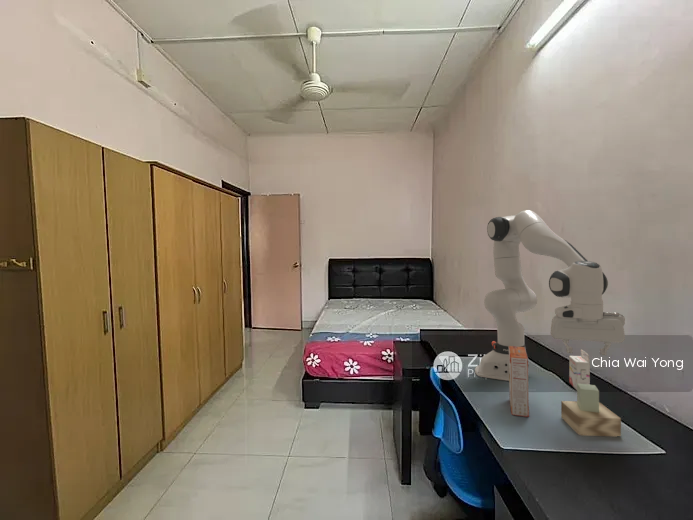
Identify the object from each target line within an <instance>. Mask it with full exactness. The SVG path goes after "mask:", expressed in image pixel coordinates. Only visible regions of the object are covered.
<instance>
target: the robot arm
mask: <svg viewBox="0 0 693 520" xmlns="http://www.w3.org/2000/svg"><path fill="white" fill-rule="evenodd" d="M486 230H487V233H486V234H487V236H488V237H489V239H490V240H491V241H493V249H492V253H493V255H492V256H493V266H494V267H493V268H494V274H495V277H496V278H497V279H498V280H500V281H501V282H502V284H503V286H504V289H502V288H501V289H495V290H493V291H492V290H491V291H489V292H487V293H486V295H485V296H484V298H483V303H484V304H483V305H484V307H485V309H486V310H487V312H488V313H490V314H491V315H492V317H493V318H494V320H495V324H496V327H497V328H496V331H497V341H495V340H493V341H492V342H491V346H492V350H491V351H489V352H487V353H486V354H485V355H483V356H482V357H481V359H480V362H479V364H478V365H477V366H476V367H475V368H474V373H475V375H476V376H478V377H481V378H487V379H494V380H499V381H508V382H509V346H516V347H525V350H526V349H527V347H526V344H525V327H524V325H523V324H522V323H521V322H518V320H517V317H516V314H517V313H524V312H527V311H530V310H532V309H534V308H536V306H537V304H538V296H537V294H536V293H535V292H534V290H533V289H531V288H530V287H529V286H528V284H527V282H526V280H525V277H524V274H523V272H522V271H523V269H522V263H521V254H520V244H522V246H523V247H524V248H525V249H527V251H528V252H530V253H531V254H535V255H538V256H539V255H540V256H546V257H551V258H554V259H558V260H560V261H562V262H563V263H564V264H565V265H566V266H567V267H566V268H562V269H559V270H555V271H554V272H553V273H552V274H551V275H550V276H549V279H548V287H549V290H550V292H551V293H552V294H553V295H554V296H555V297H558V298H570V304H568V305H564V306H559V307H556V308H555V309H554V314H555V315H554V316H553V317H552V320H551V323H550V335H551V337H552V338H553V339H555V340H562V343H563V345H565V347H566V354H573V347H572V346H570V345H568V344H569V343H570V341H582V342H584V341H585V342H599V343H601V342H603V344H604V346H603V347H602V348H599V355H600V356H607V353H608V350H609V349H610V348H611V346H612V343H616V344H617V343H619V344H620V343H621V344H622V343H623V342H624V341H625V340H626V337H625V336H626V335H625V328H624V326H625V324H626V323H625V321H626V318H625V316H623V314H621V313H619V312H607V311H604V300H603V294H604V293H606V291H607V289H608V285H609V281H608V277H607V276H606V275H605V273H604V272H603V269H602V266H601V265H600V263H597V262H595V261H590V260H588V259H587V258H586V257H584V255H582V254H581V252H580V251H579V250H578V249H576V247H574V245H572V244H571V243H570V242H569V241H567V240H566V239H564V238H562V237H561V236H559V235H558V234H557V233H555V232H554V231H553V230H552V229H551V228H550V227H549V225H548V224H547V223H546V222H545V220H544V219H542V217H541V216H540V215H539V214H538V213H536V212H535V211H533V210H531V209H525V210H524V209H523V210H521V211H520V212H518V213H517V214H512V215H506V216H497V217H493V218H491V219H490V220H489V222H488V223H487V227H486ZM526 351H527V350H526ZM528 377H529V374H528Z"/></svg>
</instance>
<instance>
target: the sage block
mask: <svg viewBox="0 0 693 520" xmlns="http://www.w3.org/2000/svg"><path fill="white" fill-rule="evenodd" d="M576 393H577V394H576V401H577V405H578V406H579V408H580V410H581V411H589V412H598V413H599V402H600V390H599V389H598V387H597V386H596V385H595V384H590V385H588V384H577V390H576Z"/></svg>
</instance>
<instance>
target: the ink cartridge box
mask: <svg viewBox="0 0 693 520" xmlns="http://www.w3.org/2000/svg"><path fill="white" fill-rule="evenodd" d="M568 359H569V360H568V362H569V364H568V365H569V369H568V370H569V373H568V374H569V375H568V378H569V379H568V380H569V384H570V385H571V386H572V387H573V388H574V390H576V391H577V384H588V385H591V384H590V383H591V382H590V381H591V375H590V373H591V366H590V365H591V364H590V355H589V354H588V353H587V352H586V351H585V350H583V349H580V355H569V358H568Z"/></svg>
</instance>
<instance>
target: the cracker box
mask: <svg viewBox="0 0 693 520" xmlns="http://www.w3.org/2000/svg"><path fill="white" fill-rule="evenodd" d="M525 347H526V346H525ZM525 347H516V346H509V381H508V382H509V383H508V387H509V392H508V393H509V406H510V412H511V415H512V416H517V417H525V418H529V417H530V409H529V408H530V407H529V405H530V403H529V401H530V400H529V398H530V397H529V376H528V375H529V357H528V353H527V350H525Z"/></svg>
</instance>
